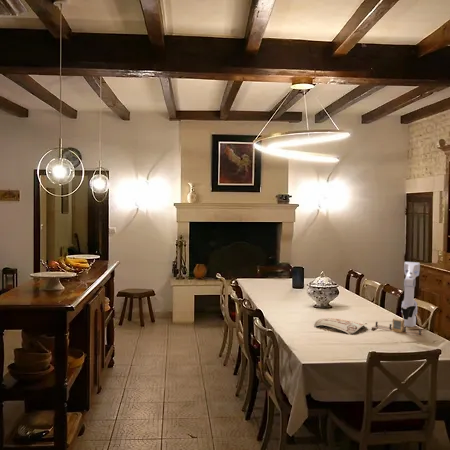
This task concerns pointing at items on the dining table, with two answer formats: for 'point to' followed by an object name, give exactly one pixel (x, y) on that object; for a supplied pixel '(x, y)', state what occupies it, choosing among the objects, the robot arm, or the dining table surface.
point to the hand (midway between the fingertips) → (408, 318)
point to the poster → (340, 324)
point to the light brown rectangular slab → (398, 324)
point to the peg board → (397, 331)
